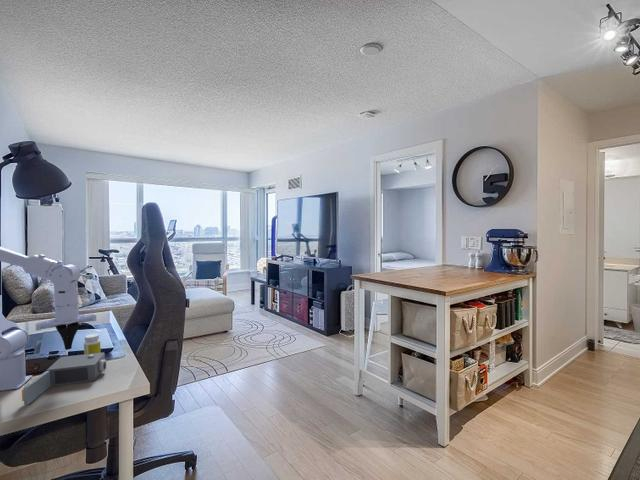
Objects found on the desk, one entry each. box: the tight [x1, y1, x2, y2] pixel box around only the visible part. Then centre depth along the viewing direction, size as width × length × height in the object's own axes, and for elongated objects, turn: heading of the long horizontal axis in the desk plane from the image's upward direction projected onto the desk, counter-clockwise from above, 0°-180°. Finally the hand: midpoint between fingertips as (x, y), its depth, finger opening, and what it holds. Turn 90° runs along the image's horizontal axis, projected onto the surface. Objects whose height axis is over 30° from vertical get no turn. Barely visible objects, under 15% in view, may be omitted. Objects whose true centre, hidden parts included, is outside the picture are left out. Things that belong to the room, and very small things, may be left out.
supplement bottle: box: [83, 333, 102, 355], centre depth 116 cm, size 5×5×8 cm
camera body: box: [46, 351, 107, 387], centre depth 103 cm, size 13×10×6 cm
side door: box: [21, 370, 52, 406], centre depth 91 cm, size 10×2×4 cm, turn 13°
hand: (68, 348), depth 101 cm, fingers closed
